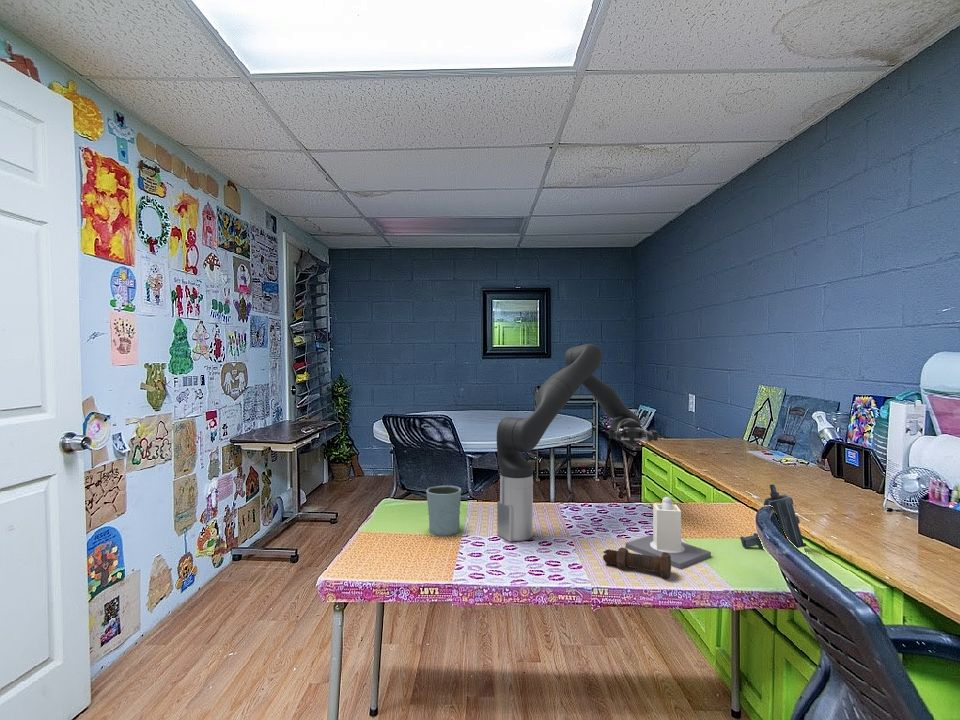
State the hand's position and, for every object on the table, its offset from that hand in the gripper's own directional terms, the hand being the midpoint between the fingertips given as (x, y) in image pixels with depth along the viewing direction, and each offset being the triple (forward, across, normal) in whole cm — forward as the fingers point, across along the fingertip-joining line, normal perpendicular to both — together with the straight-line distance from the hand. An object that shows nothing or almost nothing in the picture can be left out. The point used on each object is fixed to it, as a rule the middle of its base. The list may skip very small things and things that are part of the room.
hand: (635, 437), depth 145 cm
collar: (+16, +6, +26) cm, 31 cm away
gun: (+8, +34, +27) cm, 44 cm away
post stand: (+16, +7, +27) cm, 32 cm away
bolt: (+29, -2, +28) cm, 40 cm away
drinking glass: (+12, -54, +28) cm, 62 cm away
